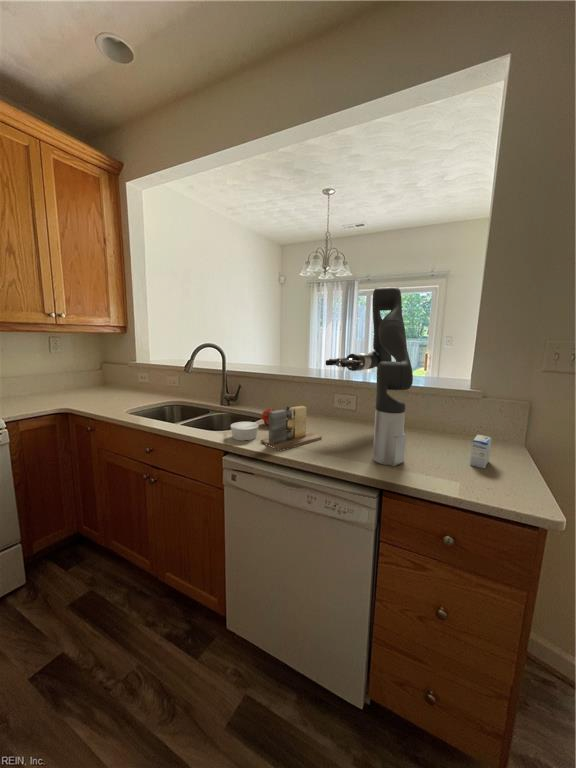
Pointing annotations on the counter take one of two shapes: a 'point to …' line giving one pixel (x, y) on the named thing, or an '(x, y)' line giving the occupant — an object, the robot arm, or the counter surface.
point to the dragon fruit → (266, 415)
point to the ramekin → (244, 430)
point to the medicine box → (480, 451)
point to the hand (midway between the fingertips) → (334, 363)
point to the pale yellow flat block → (297, 422)
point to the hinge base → (294, 441)
